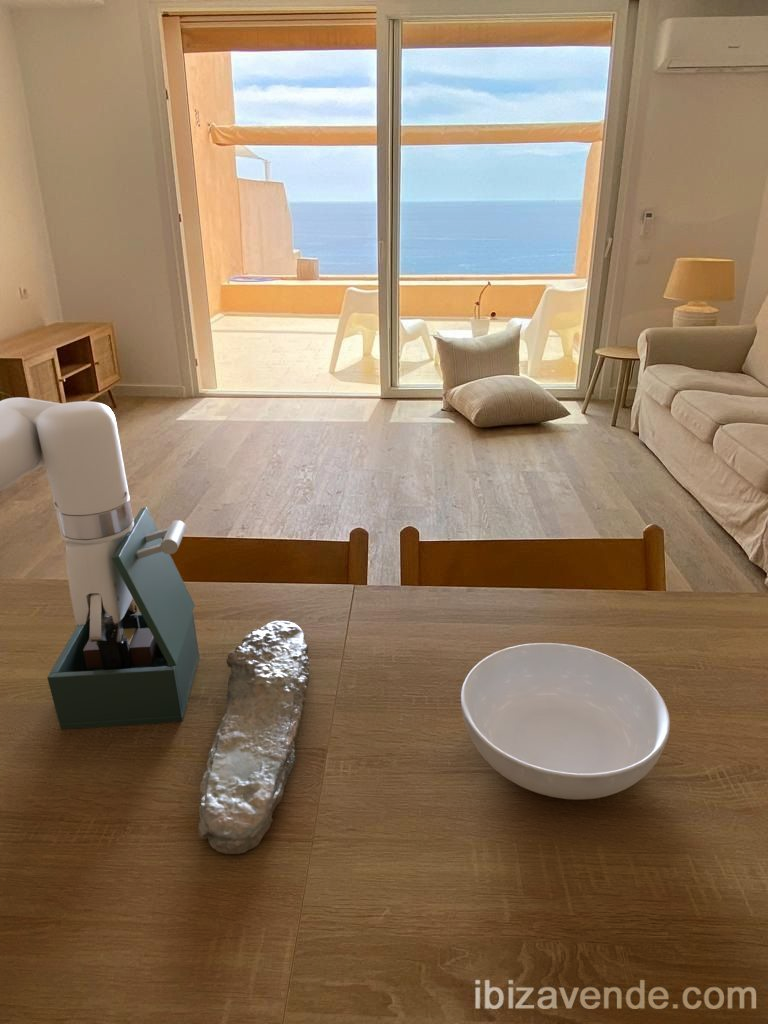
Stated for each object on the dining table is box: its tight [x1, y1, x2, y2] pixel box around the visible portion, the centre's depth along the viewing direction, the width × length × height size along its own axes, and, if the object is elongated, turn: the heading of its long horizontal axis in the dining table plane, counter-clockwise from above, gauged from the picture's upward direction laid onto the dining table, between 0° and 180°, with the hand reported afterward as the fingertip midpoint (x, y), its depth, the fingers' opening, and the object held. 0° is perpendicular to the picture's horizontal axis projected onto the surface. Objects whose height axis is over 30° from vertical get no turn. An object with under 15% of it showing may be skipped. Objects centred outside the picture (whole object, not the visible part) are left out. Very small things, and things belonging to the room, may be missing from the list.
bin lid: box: [112, 506, 196, 667], centre depth 79 cm, size 14×13×5 cm
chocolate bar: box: [83, 628, 159, 669], centre depth 82 cm, size 8×4×3 cm, turn 95°
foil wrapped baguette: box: [197, 620, 311, 855], centre depth 78 cm, size 35×5×10 cm
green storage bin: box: [47, 611, 200, 730], centre depth 83 cm, size 14×13×7 cm
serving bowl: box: [460, 642, 671, 800], centre depth 73 cm, size 21×21×7 cm
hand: (123, 655), depth 83 cm, fingers closed on chocolate bar, 4 cm apart
